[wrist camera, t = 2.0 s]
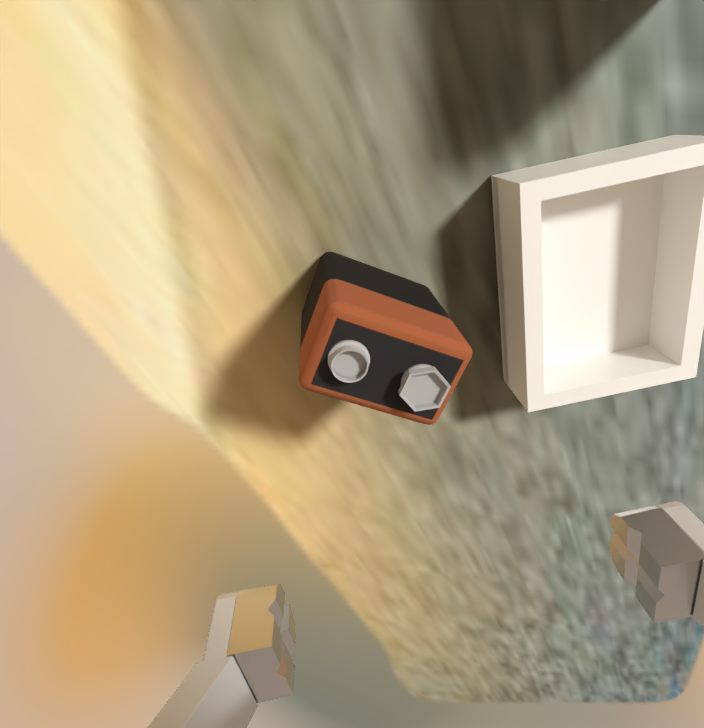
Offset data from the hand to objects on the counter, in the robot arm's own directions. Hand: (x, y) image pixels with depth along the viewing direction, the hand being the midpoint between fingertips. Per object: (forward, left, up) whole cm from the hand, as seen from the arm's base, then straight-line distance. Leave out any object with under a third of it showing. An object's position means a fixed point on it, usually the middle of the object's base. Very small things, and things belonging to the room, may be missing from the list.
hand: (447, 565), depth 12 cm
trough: (+1, +13, -19) cm, 23 cm away
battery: (0, 0, -19) cm, 19 cm away
